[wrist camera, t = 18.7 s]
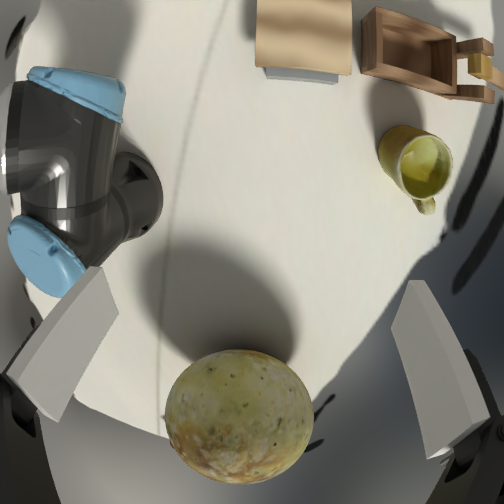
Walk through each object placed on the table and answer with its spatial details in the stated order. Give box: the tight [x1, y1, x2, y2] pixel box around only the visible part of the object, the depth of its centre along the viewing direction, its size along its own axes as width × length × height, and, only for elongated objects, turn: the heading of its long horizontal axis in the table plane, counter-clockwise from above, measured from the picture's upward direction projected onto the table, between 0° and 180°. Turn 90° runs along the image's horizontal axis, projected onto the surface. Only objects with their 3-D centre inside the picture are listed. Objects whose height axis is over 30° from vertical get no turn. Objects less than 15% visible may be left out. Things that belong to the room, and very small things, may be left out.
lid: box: [255, 0, 352, 76], centre depth 23 cm, size 12×11×3 cm
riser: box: [266, 67, 338, 85], centre depth 26 cm, size 9×14×4 cm, turn 178°
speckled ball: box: [165, 349, 314, 484], centre depth 48 cm, size 30×30×30 cm
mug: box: [378, 126, 453, 215], centre depth 32 cm, size 12×10×10 cm
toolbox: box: [361, 6, 495, 104], centre depth 22 cm, size 16×9×12 cm, turn 88°
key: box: [468, 53, 504, 91], centre depth 17 cm, size 12×3×3 cm, turn 88°
